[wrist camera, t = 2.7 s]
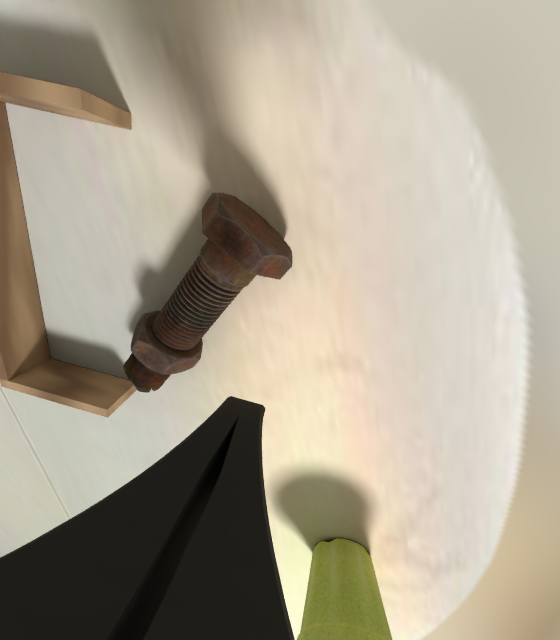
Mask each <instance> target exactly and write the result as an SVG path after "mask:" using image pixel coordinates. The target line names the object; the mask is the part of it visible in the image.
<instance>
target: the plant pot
mask: <svg viewBox="0 0 560 640" xmlns="http://www.w3.org/2000/svg"><path fill="white" fill-rule="evenodd" d="M297 640H392V637H391V633H390V629H389V626H388V622H387V618H386V614H385V610H384V607H383V603H382V599H381V595H380V591H379V587H378V583H377V579H376V575H375V571H374V567H373V563H372V559H371V557H370V556H369V554H368V553H367V551H366V550H365V548H364V547H363V546H361V545H359V544H358V543H355V542H353V541H350V540H346V539H341V538H336V539H334V540H333V541H331V542H324V541H321V542H319V543H318V544H317V545H316V546H315V547H314V550H313V555H312V561H311V568H310V575H309V582H308V588H307V595H306V601H305V607H304V614H303V620H302V626H301V632H300V634H299V636H298V638H297Z"/></svg>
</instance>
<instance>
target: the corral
mask: <svg viewBox="0 0 560 640" xmlns="http://www.w3.org/2000/svg"><path fill="white" fill-rule="evenodd" d="M5 102H6V103H11V104H15V105H20V106H24V107H29V108H33V109H38V110H43V111H47V112H52V113H56V114H61V115H65V116H70V117H75V118H79V119H84V120H88V121H93V122H97V123H102V124H107V125H111V126H116V127H120V128H125V129H129V130H131V114H130V113H128V112H126V111H124V110H122V109H120V108H118V107H116V106H114V105H112V104H110V103H108V102H106V101H104V100H102V99H100V98H98V97H96V96H94V95H92V94H90V93H88V92H86V91H84V90H82V89H79V88H74V87H70V86H65V85H60V84H56V83H51V82H46V81H41V80H37V79H32V78H27V77H22V76H18V75H13V74H8V73H4V72H0V383H1V386H2V387H5V388H9V389H12V390H16V391H19V392H22V393H26V394H29V395H33V396H36V397H40V398H43V399H46V400H50V401H53V402H57V403H60V404H63V405H67V406H70V407H74V408H77V409H81V410H84V411H87V412H91V413H94V414H98V415H101V416H104V417H109V416H110V415H111V414H112V413H113V412H114V411H115V410H116V409H117V408H118V407H119V406H120V405H121V404H122V403H123V402H124V401H125V400H127V399H128V398H129V397H130V396H131V395H132V394H133V393H134V392H135V391H136V390H137V389H136V388H135V386H134V385H133V383H132V382H131V381H129V380H126V379H122V378H119V377H115V376H111V375H108V374H104V373H101V372H97V371H94V370H90V369H87V368H83V367H80V366H76V365H72V364H69V363H65V362H62V361H58V360H55V359H51V358H50V353H49V348H48V342H47V336H46V331H45V325H44V320H43V314H42V308H41V303H40V297H39V292H38V286H37V281H36V275H35V269H34V264H33V258H32V253H31V247H30V242H29V236H28V230H27V225H26V219H25V214H24V208H23V203H22V197H21V191H20V186H19V180H18V175H17V169H16V164H15V158H14V152H13V147H12V141H11V136H10V130H9V125H8V119H7V113H6V108H5Z"/></svg>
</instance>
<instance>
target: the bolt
mask: <svg viewBox="0 0 560 640" xmlns="http://www.w3.org/2000/svg"><path fill="white" fill-rule="evenodd" d="M202 224H203V234H205V235H206V236H207V237H208V238H209V239H208V240H207V242H206V243H205V245H204V246H203V247H202V249H201V253H200V256H198V258H197V260H196V261H195V262H194V264H193V265H192V266H191V269H189V270H188V272H187V274H186V275H185V277H184V278H183V280H182V281H181V282H180V284H179V285H178V286H177V288H176V289H175V291H174V293H173V294H172V296H171V297H170V299H169V300H168V301H167V303H166V304H165V306H164V307H163V309H162V311H154V312H150V313H145V314H143V316H142V317H141V319H140V320H139V322H138V323H137V325H136V328H135V331H134V334H133V338H132V343H131V351H132V354H131V355H130V357H129V359H128V360H127V361H126V362H125V364H124V366H123V367H124V371H125V373H126V375H127V377H128V378H129V380H131V382H132V383H133V385H134V386H135V388H136V389H137V390H138V391H140V392H150V391H149V390H151V388H152V390H153V391H155V390H157V389H159V388H160V387H161V386H162V385H163V383H164V382H165V381H166V380H167V379H168V377H169V376H170V375H171V374H175V373H179V372H183V371H185V370H188V369H190V368H193V367H194V366H195V364H196V363H197V362H198V361H199V360H200V358H201V353H202V345H203V342H202V337H203V336H204V334H205V333H206V332H207V331H208V330H209V328H210V327H211V326H212V325H213V323H214V322H215V321H216V320H217V319H218V318H219V317H220V315H221V314H222V313H223V311H224V310H225V309H226V308H227V307H228V305H229V304H230V303H231V302H232V301H233V300H234V298H235V297H236V296H237V295H238V294H239V293H240V291H241V290H242V289H243V288H244V287H245V286H247V285H248V284H249V283H250V282H251V281H252V280H253V278H254V277H255V276H256V275H260V276H265V277H270V278H275V279H281V278H282V277H283V275H284V274H285V273H286V272H287V271H288V270H289V269H290V268H291V267H292V251H291V249H290V247H289V246H288V245H287V243H286V242H285V241H284V239H283V238H282V237H281V235H280V234H279V233H278V232H277V231H276V230H275V229H274V228H273V227H272V226H271V225H270V224H269V223H267V221H266V220H265V219H264V218H262V217H261V216H260V215H259V214H258V213H256V212H255V211H254V210H253V209H251V208H250V207H249V206H247V205H246V204H244V203H243V202H242V201H240V200H239V199H237V198H236V197H234V196H232V195H228V194H224V193H212V195H211V196H210V198H209V199H208V201H207V202H206V204H205V206H204V207H203V209H202Z"/></svg>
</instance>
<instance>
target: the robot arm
mask: <svg viewBox="0 0 560 640" xmlns="http://www.w3.org/2000/svg"><path fill="white" fill-rule="evenodd" d="M264 412H265V407H264V406H263V405H260V404H257V403H253V402H250V401H246V400H242V399H239V398H235V397H232V396H230V397H228V398H227V399H226V400H225V401H224V402H223V403H222V405H221V406H220V407H219V408H218V409H217V410H216V411H215V412H214V413H213V414H212V415H211V416H210V417H209V418H208V419H207V420H206V421H205V422H204V423H202V424H201V425H200V426H199V427H198V428H197V429H196V430H195V431H194V432H193V433H191V434H190V435H189V436H188V437H187V438H186V439H185V440H183V441H182V442H181V443H180V444H179V445H177V446H176V447H175V448H174V449H172V450H171V451H170V452H169V453H168V454H166V455H165V456H164V457H163V458H161V459H160V460H159V461H157V462H156V463H155V464H153V465H152V466H151V467H149V468H148V469H147V470H145V471H144V472H143V473H141V474H140V475H138V476H137V477H135V478H134V479H133V480H131V481H130V482H128V483H127V484H125V485H124V486H122V487H121V488H119V489H118V490H116V491H115V492H113V493H112V494H110V495H109V496H107V497H106V498H104V499H103V500H101V501H99V502H98V503H96V504H95V505H93V506H91V507H90V508H88V509H86V510H85V511H83V512H82V513H80V514H78V515H76V516H75V517H73V518H71V519H69V520H68V521H66V522H64V523H62V524H61V525H59V526H57V527H56V528H54V529H52V530H50V531H49V532H47V533H45V534H43V535H42V536H40V537H38V538H36V539H35V540H33V541H31V542H29V543H27V544H26V545H24V546H22V547H20V548H18V549H16V550H14V551H12V552H10V553H9V554H7V555H5V556H3V557H1V558H0V640H294V636H293V632H292V628H291V624H290V620H289V616H288V612H287V608H286V604H285V599H284V595H283V590H282V586H281V581H280V577H279V572H278V567H277V563H276V558H275V554H274V548H273V543H272V537H271V532H270V526H269V519H268V513H267V506H266V498H265V489H264V479H263V467H262V423H263V416H264Z"/></svg>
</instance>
